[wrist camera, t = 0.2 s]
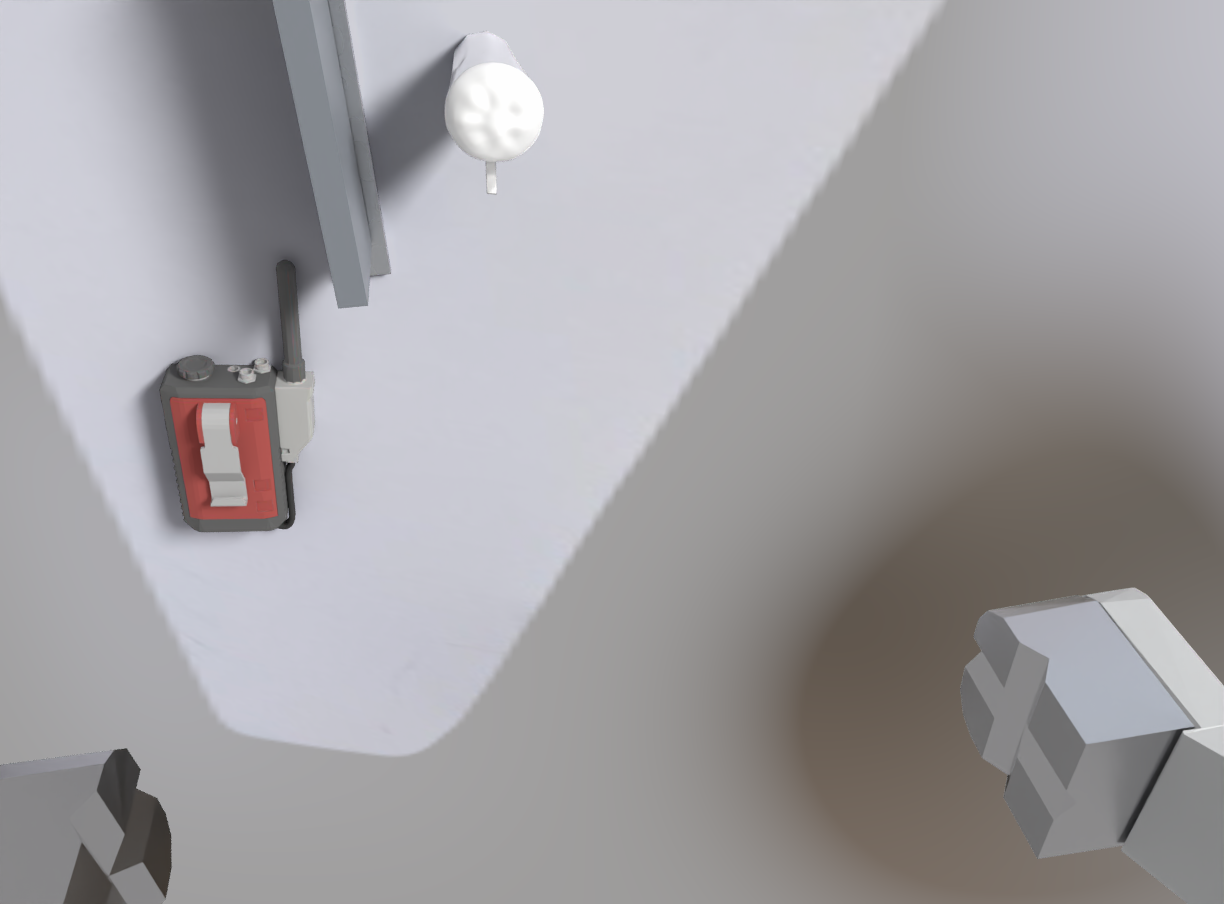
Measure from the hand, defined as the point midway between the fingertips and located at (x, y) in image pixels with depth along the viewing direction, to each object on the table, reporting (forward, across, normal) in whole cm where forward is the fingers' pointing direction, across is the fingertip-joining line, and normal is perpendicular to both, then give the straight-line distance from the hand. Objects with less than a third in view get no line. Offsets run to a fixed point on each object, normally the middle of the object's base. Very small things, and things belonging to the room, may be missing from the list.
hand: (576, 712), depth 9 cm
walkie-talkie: (+48, +16, +26) cm, 57 cm away
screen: (+48, +7, +6) cm, 49 cm away
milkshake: (+48, -1, +8) cm, 48 cm away
